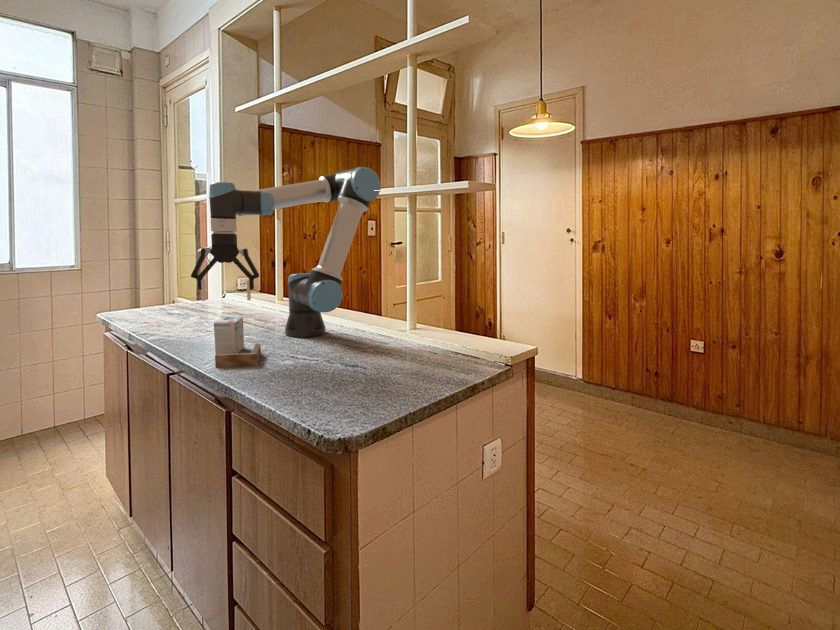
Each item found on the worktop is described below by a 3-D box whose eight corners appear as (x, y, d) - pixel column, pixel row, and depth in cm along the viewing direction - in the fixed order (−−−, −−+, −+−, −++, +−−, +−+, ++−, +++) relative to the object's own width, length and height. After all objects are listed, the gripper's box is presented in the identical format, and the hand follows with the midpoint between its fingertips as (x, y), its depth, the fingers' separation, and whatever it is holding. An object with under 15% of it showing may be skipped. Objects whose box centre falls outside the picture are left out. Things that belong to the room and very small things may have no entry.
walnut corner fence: (260, 354, 165) (260, 343, 164) (257, 365, 152) (256, 353, 151) (222, 356, 162) (222, 345, 162) (215, 367, 149) (215, 355, 149)
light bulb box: (224, 347, 173) (222, 316, 172) (245, 347, 174) (243, 316, 172) (214, 355, 163) (212, 322, 161) (236, 355, 163) (234, 322, 162)
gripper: (178, 232, 156) (182, 302, 159) (264, 233, 161) (266, 301, 164) (183, 232, 163) (187, 298, 166) (266, 233, 168) (268, 298, 172)
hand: (226, 300), depth 165 cm, fingers open, 13 cm apart
